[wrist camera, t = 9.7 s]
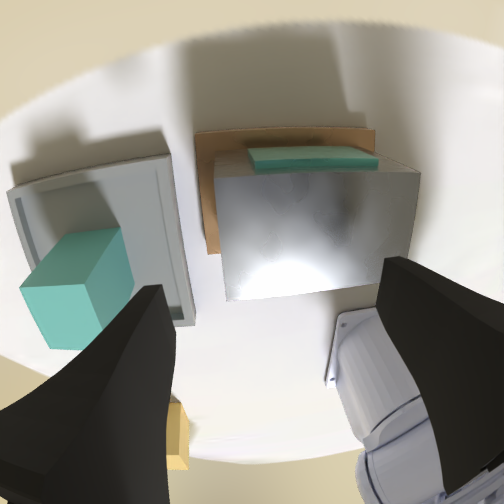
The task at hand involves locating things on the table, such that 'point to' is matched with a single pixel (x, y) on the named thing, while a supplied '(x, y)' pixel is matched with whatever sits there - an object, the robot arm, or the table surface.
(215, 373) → the table surface
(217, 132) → the silver unit
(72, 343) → the teal block
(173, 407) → the ochre block
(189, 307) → the slate tray
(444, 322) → the robot arm
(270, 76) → the table surface
